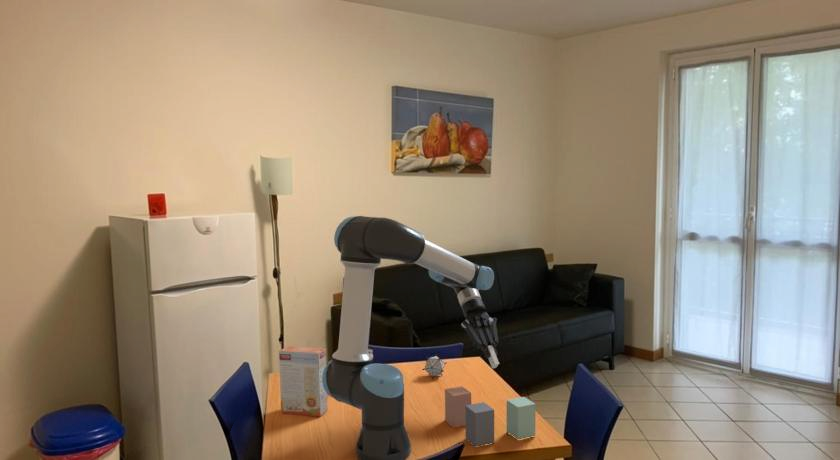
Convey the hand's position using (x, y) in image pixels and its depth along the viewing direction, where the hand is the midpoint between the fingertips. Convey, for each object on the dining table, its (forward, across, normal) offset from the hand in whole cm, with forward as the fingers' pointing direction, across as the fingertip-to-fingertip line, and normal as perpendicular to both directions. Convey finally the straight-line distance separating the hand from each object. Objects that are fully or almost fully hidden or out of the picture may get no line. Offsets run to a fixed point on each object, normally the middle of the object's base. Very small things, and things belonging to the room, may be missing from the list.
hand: (495, 365), depth 181 cm
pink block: (+12, +13, -11) cm, 21 cm away
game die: (-17, +3, -40) cm, 43 cm away
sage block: (+22, 0, -1) cm, 22 cm away
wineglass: (-20, +30, -43) cm, 56 cm away
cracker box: (-7, +55, -31) cm, 64 cm away
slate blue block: (+22, +13, -2) cm, 25 cm away
